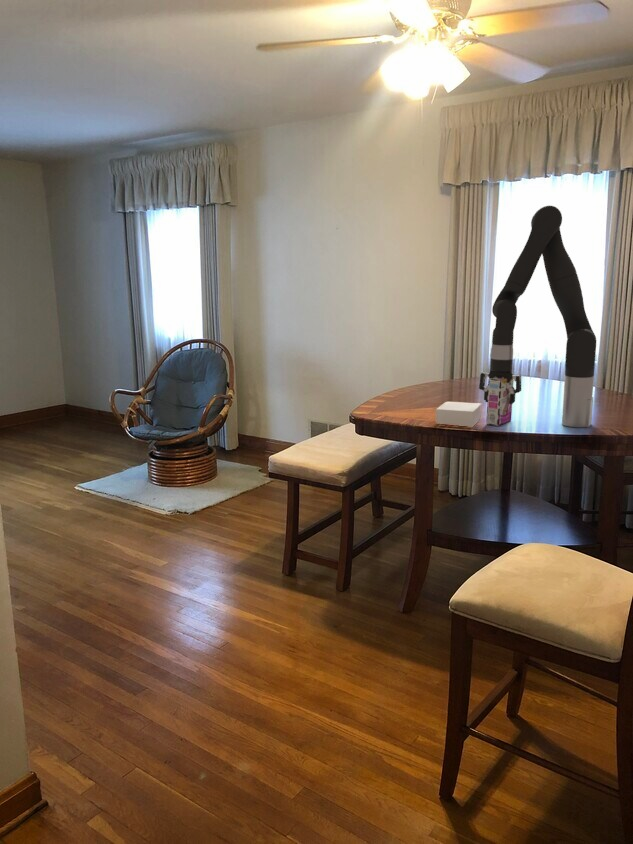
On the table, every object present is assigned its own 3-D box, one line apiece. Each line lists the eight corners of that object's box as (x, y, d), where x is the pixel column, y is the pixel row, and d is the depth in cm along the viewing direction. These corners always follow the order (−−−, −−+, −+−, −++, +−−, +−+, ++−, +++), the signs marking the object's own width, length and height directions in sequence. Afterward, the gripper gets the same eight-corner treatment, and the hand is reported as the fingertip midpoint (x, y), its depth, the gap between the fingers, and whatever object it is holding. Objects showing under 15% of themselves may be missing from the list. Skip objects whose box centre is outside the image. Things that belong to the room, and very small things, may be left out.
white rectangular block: (481, 419, 241) (481, 403, 240) (472, 428, 228) (473, 411, 226) (446, 417, 246) (446, 401, 245) (435, 425, 233) (436, 409, 232)
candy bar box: (499, 426, 228) (501, 380, 224) (485, 425, 231) (487, 378, 227) (512, 420, 236) (514, 375, 233) (499, 419, 239) (501, 374, 236)
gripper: (525, 357, 228) (522, 403, 232) (484, 354, 235) (482, 399, 239) (519, 359, 222) (516, 406, 226) (478, 357, 229) (476, 402, 233)
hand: (499, 402), depth 232 cm, fingers open, 8 cm apart
